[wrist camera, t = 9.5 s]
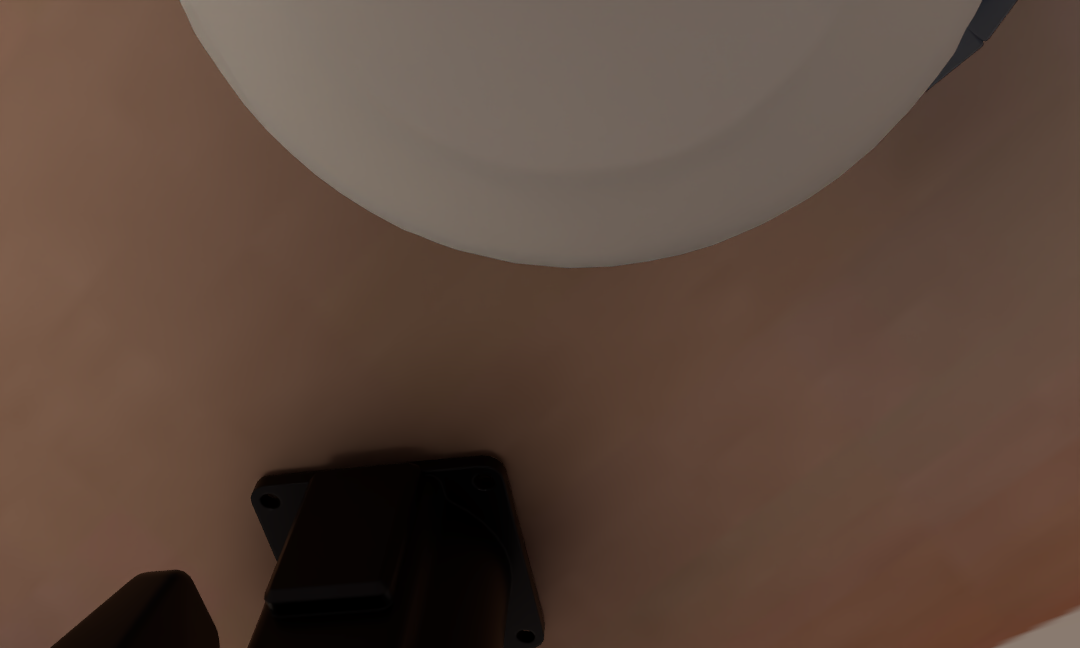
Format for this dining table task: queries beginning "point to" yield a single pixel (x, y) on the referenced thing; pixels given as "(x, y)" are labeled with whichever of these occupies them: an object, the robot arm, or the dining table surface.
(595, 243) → the sprinkles bottle
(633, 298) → the dining table surface
